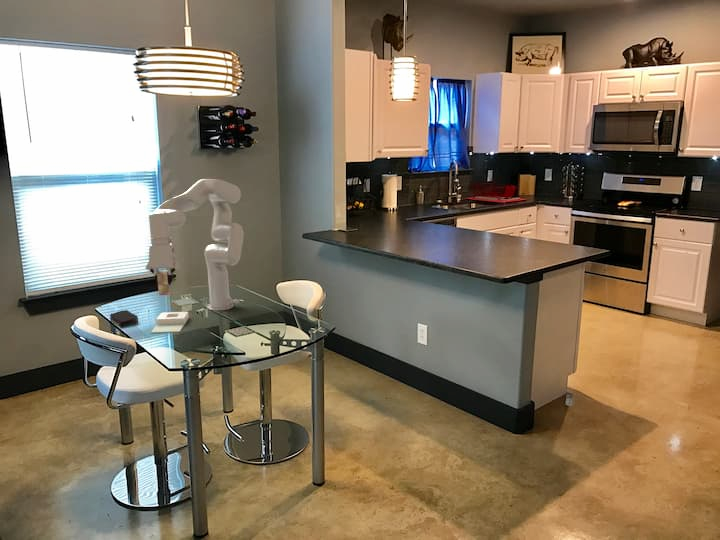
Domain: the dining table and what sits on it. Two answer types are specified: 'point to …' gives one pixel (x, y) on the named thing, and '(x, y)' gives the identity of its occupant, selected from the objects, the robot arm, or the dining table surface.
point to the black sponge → (124, 318)
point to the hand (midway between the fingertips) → (164, 283)
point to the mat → (167, 328)
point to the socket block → (172, 318)
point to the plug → (163, 282)
